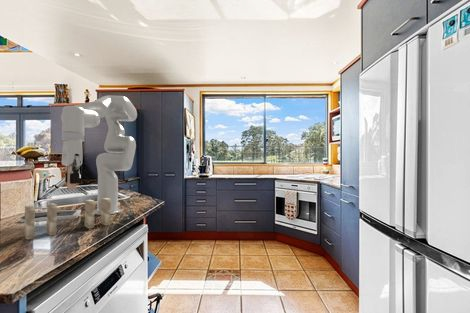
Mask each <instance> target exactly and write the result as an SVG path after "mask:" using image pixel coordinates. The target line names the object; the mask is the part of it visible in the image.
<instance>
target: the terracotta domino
mask: <svg viewBox="0 0 470 313" xmlns="http://www.w3.org/2000/svg"><path fill="white" fill-rule="evenodd" d="M72 165H76V164H72ZM73 168H74V167H73ZM70 173H71V166H70V165H69V166H68V175H67V183H66V189H68V190H77V189H78V183H76V184H70Z"/></svg>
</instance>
